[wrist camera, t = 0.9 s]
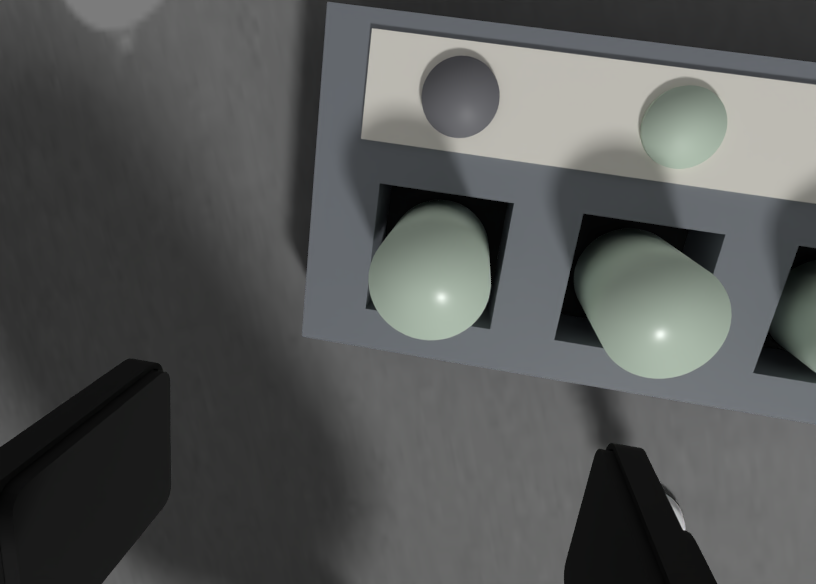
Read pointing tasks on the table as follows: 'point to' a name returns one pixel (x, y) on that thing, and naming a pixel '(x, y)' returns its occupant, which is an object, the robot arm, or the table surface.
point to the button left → (432, 271)
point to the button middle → (651, 304)
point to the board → (565, 185)
